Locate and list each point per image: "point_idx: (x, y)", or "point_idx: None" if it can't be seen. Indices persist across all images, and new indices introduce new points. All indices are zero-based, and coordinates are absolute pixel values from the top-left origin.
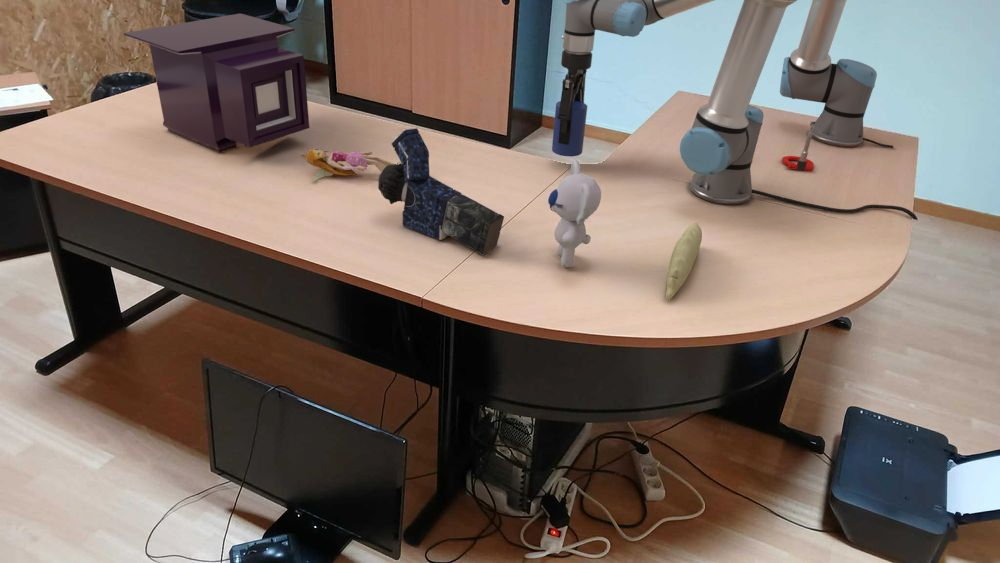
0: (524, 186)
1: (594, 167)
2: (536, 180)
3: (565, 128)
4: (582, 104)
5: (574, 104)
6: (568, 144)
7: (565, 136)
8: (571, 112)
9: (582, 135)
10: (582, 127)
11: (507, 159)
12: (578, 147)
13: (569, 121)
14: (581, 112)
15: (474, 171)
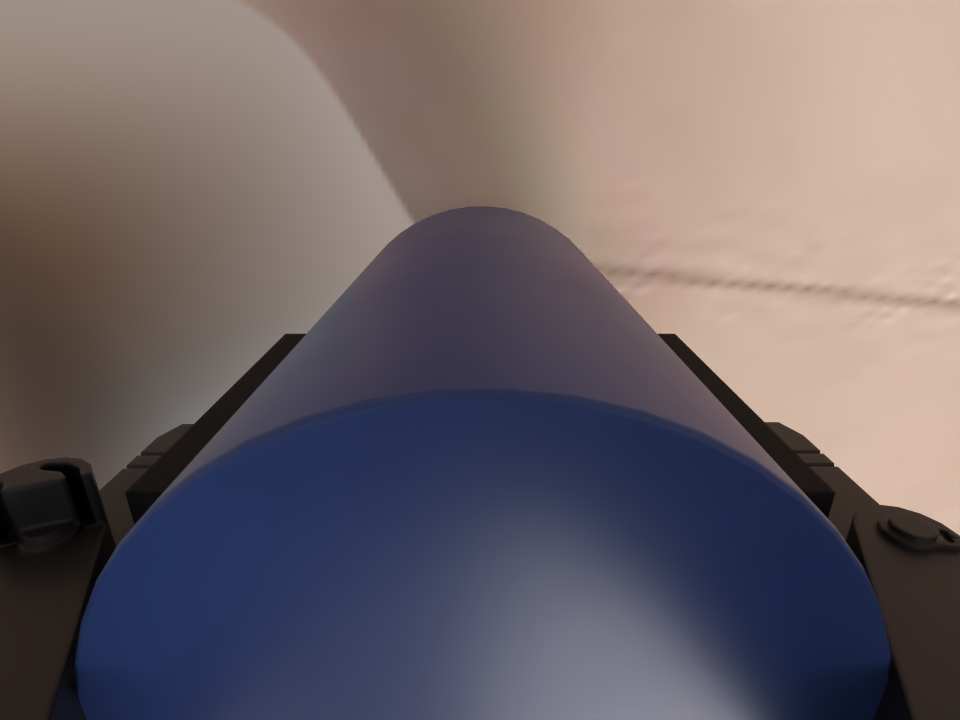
0: (915, 423)
1: (409, 88)
2: (805, 390)
3: (826, 468)
4: (268, 570)
5: (401, 717)
6: (666, 334)
7: None
8: (896, 618)
9: (527, 240)
10: (565, 273)
11: None
12: (561, 238)
13: (816, 498)
14: (731, 427)
15: None
